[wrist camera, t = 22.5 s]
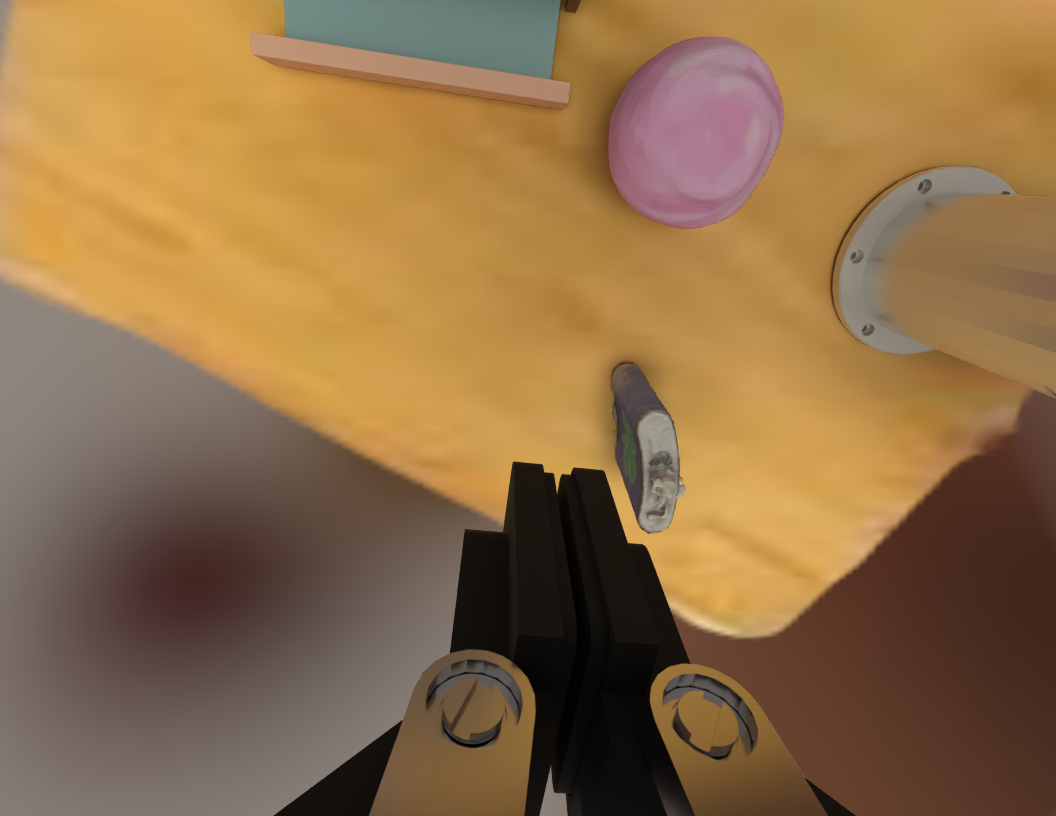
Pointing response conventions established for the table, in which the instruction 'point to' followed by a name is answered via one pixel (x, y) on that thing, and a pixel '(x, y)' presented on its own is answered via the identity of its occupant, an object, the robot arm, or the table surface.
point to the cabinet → (572, 5)
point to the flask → (645, 449)
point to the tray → (427, 45)
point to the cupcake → (695, 132)
